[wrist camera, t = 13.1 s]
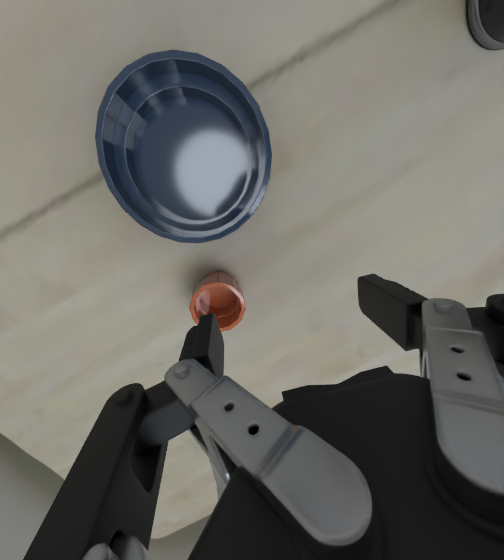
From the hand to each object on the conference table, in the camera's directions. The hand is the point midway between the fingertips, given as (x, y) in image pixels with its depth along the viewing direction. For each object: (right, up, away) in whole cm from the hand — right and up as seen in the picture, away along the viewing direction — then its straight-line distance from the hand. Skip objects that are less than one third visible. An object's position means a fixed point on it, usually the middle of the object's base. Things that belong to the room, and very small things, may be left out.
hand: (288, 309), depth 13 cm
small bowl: (-7, 0, +20) cm, 21 cm away
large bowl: (-9, +15, +14) cm, 22 cm away
